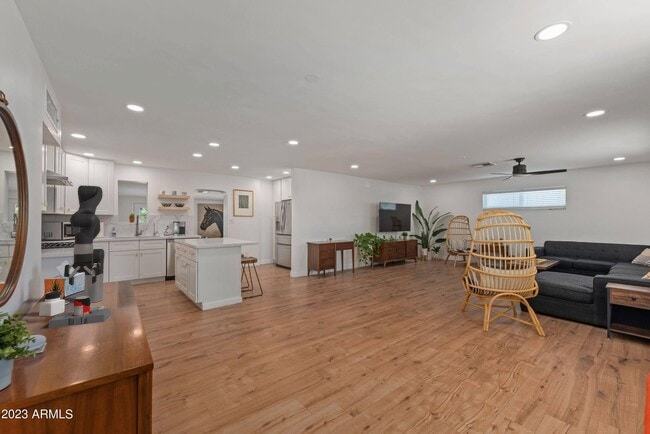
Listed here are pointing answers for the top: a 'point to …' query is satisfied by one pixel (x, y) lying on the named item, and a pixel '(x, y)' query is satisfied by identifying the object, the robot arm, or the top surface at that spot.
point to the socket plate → (79, 318)
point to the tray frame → (96, 308)
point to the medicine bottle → (52, 304)
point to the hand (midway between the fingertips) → (82, 284)
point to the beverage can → (81, 306)
